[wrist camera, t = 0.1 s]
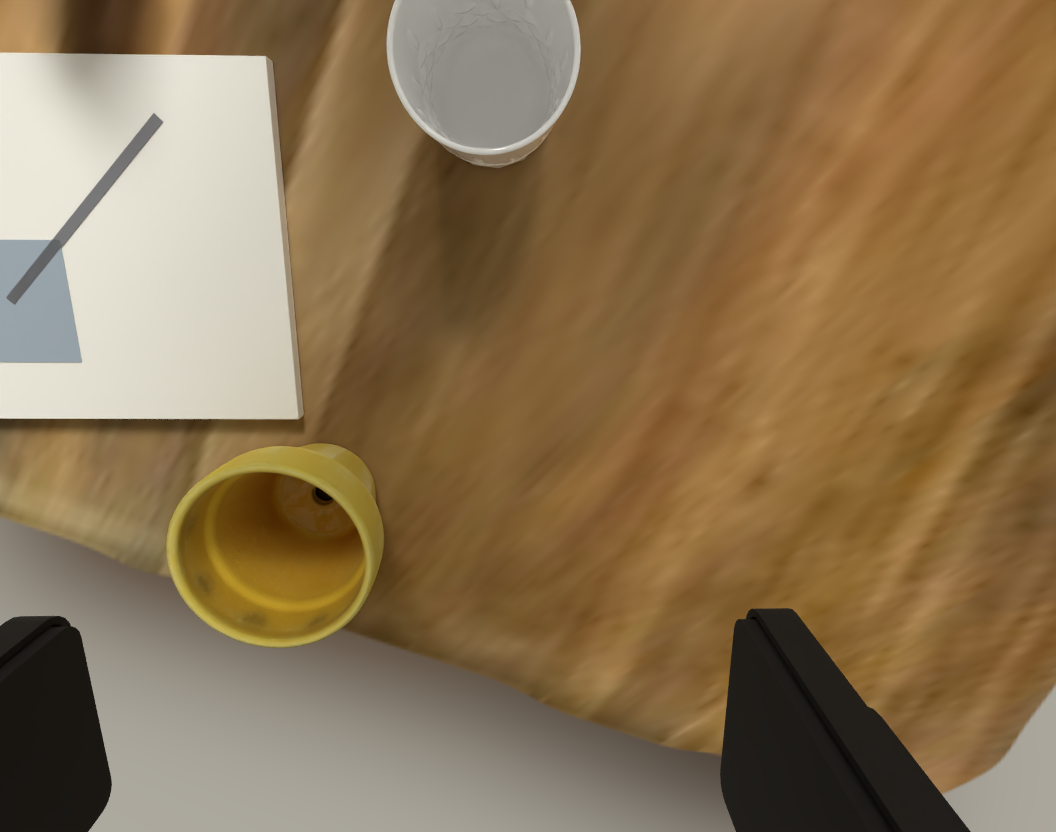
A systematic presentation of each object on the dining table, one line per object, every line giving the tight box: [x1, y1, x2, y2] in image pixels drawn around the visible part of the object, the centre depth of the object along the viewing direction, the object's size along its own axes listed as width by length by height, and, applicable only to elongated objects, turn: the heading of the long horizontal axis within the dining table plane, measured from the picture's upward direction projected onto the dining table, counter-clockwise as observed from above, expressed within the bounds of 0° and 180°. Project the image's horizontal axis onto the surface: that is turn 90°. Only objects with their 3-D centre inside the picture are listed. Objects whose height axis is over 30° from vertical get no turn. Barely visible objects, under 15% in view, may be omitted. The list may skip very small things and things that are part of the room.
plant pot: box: [166, 443, 384, 648], centre depth 36 cm, size 10×10×10 cm
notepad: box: [0, 53, 304, 419], centre depth 36 cm, size 20×26×1 cm
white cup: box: [387, 0, 581, 168], centre depth 30 cm, size 8×8×10 cm
